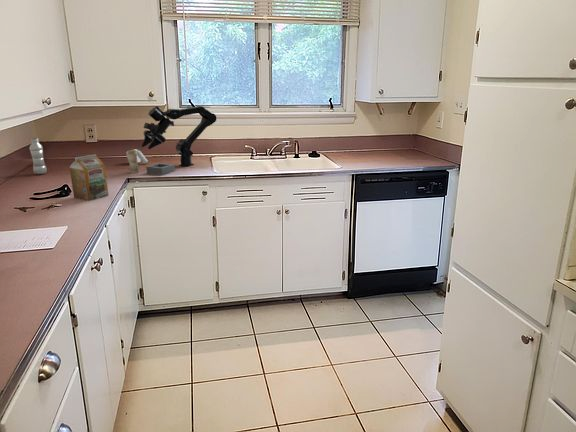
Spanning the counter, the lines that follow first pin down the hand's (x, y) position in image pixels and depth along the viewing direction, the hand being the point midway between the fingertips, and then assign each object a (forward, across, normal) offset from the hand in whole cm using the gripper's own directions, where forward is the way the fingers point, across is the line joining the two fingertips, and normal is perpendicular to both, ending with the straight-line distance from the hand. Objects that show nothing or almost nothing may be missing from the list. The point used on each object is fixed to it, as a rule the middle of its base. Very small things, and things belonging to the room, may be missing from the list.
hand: (145, 147), depth 258 cm
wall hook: (+7, -23, +13) cm, 27 cm away
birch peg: (+15, 0, +4) cm, 16 cm away
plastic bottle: (+45, -29, -26) cm, 60 cm away
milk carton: (+40, +39, -21) cm, 60 cm away
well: (+7, +10, +12) cm, 17 cm away
